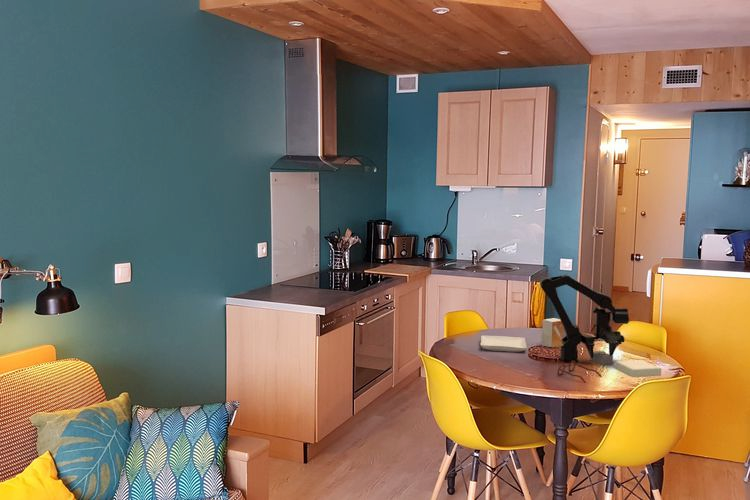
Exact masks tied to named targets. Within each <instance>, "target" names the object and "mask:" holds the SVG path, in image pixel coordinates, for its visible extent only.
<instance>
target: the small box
mask: <svg viewBox="0 0 750 500" xmlns="http://www.w3.org/2000/svg"><path fill="white" fill-rule="evenodd" d="M541 324H542V325H541V327H542V329H541V346H542V347H544V346H549V347H556V348H561V346H563V344H562V341H561V340H562V339H563V338H564V326H563V324H562V322H561V320H560V318H555V317H552V318H546V319H542V323H541Z"/></svg>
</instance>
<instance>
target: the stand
mask: <svg viewBox="0 0 750 500" xmlns="http://www.w3.org/2000/svg"><path fill="white" fill-rule="evenodd" d="M614 369H616V370H618V371H620V372H622V373H624V374H626V375H629V376H630V377H632V378H633V377H634V378H635V377H636V378H637V377H651V376H652V377H653V376H661V375H662V367H659V366H656V365H655V364H652V363H650V362H647V361H645V360H643V359H638V360H636V359H635V360H620V361H619V360H616V361H614Z"/></svg>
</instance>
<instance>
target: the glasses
mask: <svg viewBox="0 0 750 500" xmlns="http://www.w3.org/2000/svg"><path fill="white" fill-rule="evenodd" d="M572 364H573V367H572V369H571V365H572ZM576 366H577V367H580V368H582V369H585V370H587V371H590V372H591V371H592V372H595V373H596V374H597V375H598V376H599V377H601V378H602V377H603V376H602V374H600V373H599V371H598V370H595V369H593V368H588V367H585V366H583V365H581V364H579V363H577V362H575V361H572V362H569V364H563V363H561V364H560V365H559V367H558V369H557V371H556V372H557V373H556V374H557V375H558V376H562V375H563V374H564V373H565V374H567V375H569V376H571V377H576V378H580V380H582V382H583V383H584V384H587V381H586V380H585V379H584V378H583V377H582V375H579V374H573V373H570V372H572V371H574V369H576ZM561 367H563V369H562V368H561ZM567 367H568V371H566V370H565V369H566V368H567ZM560 371H561V372H560Z"/></svg>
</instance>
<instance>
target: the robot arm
mask: <svg viewBox="0 0 750 500" xmlns="http://www.w3.org/2000/svg"><path fill="white" fill-rule="evenodd" d="M539 286H540V288H541V289H542V291H543V292H544V294H545V295H546V296H547V297H548V299H549V300H550V302H551V304H552V306H553V308H554V310H555V312H556V315H558V319H560V320H561V322H562V324H563V331H564V333H565V336H563V339H562V340H561V341H562V346H561V347H560V357H558V360H560V361H562V362H564V363H571V362H572V361H575V362H576V363H577V362H579V358H578V357H579V355H578V354H579V350H578V345H580V344H581V343H582V344H584V346H585V348H586V350H587V353H588V355H589V358H590V357H591V358H592V359H593V351H594V347H595V345H596V344H595V342H600V341H601V342H605V343H606V344H608V354H609V355H612V356H613V357H614V353H615V351H616V349H617V347H618V346H619V345H622V344H623V343H625V340H626V339H625V336H624V335H622V333H621V331H619V330H618V331H613V329H612V325H610V324H611V322H613V324H617V325H618V324H619V325H622V324H623V325H628V324H629V323H630V316H629V308H627V307H622V308H620V307H619V308H617V307H616V308H615V306H614V305H613V304H612V303H613V300H612V298H611V297H610V296H608V295H607V294H606V293H603V292H601V291H598V290H595V289H592V288H590V287H589V286H587V285H585V284H583V283H581V282H580V281H578V280H576V279H575V278H573V277H572V276H570V275H568V274H562V275H557V276H552V277H548V276H544V277H542V278H541V279H540V280H539ZM563 286H568V287H570V288H572V289H573V290H575V291H577V292H578V293H580V294H582V295H583V296H585V297H588V298H589V299H590V300H591V301H592V302H594V303H595V304H596V305H597V306H598V307H600V308H598V307H597V306H595V307H594V308H593V309H591V312H592V313H593V314H595V315H596V316H595V323H594V324H593V326H594V328H595V332H594V333H593V336H592V335H590V334H582V332H581V330H580V328H579V326H578V324H573V323H572V321H571V319H570V318H569V316H568V314H567V311H566V309H565V307H564V306H563V303H562V302H561V299H560V297H559V296H558V292H557V288H560V287H563ZM606 309H607V310H606Z"/></svg>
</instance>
